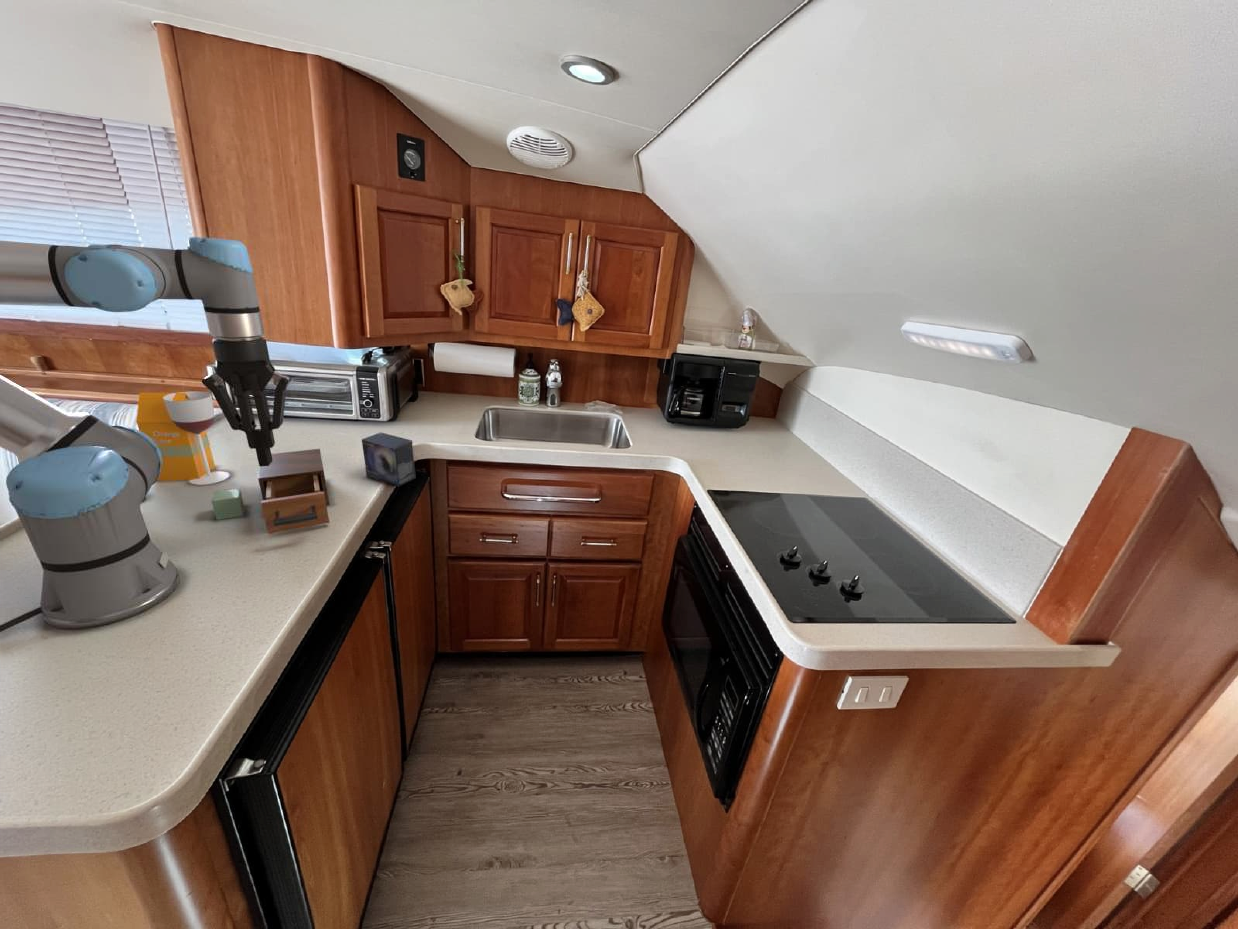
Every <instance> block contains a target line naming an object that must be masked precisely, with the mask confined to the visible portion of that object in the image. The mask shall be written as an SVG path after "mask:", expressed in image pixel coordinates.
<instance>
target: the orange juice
mask: <svg viewBox="0 0 1238 929" xmlns="http://www.w3.org/2000/svg"><path fill="white" fill-rule="evenodd" d="M172 393H173V392H142V391H141V392H139V395H138V403H137V410H136V411H137V412H136V420H135V422H136V425H137V428H138V430H139V431H141V432H143V433H144V434H146V435H147V436H149V437H150V438H151V439H152V440H153V441H154V442H155V443H156V445H157V446H158V448H159V449H160V452H161V455H162V466H161V472H160V475H159V477H158V479H157V481H156V482H174V481H175V482H176V481H189V480H193V479H199V478H200V477H201V476H203V475H204V474H206V470H205V466H204V463H203V459H202V455H201V452H200V448H199V444H198V441H197V437H196V434H195V433H192V432H188V431H185V430H182V429H180V428H179V427H177V426H176V425H175V424H174V422H173V421H172V419H171V417H170V415H169V413H168V411H167V408H166V406H165V403H164V400H163V397H164V396H166V395H169V394H172ZM175 393H176V394H175V395H174V397H173V400H172V401H185V398H186V399H190V398H189V397H188V396H187V395H186V393H178V392H175ZM200 436H201V439H202V443H203V447H204V451H205V454H206V458H207V462H208V465H209V469H210V472H212V471H213V470H214V469H215V468H216V465H215V460H214V457H213V453H212V449H211V443H210V441H209V440H210V439H209V437H208V434H207V430H205V431H203V432H201V433H200Z"/></svg>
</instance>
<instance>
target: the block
mask: <svg viewBox="0 0 1238 929" xmlns="http://www.w3.org/2000/svg"><path fill="white" fill-rule="evenodd" d="M211 504H212V508H213V511H214V515H215V518H216V519H215V520H217V521H219V520H226V519H233V518H238V517H243V516H244V513H245V503H244V499H243V494H242V490H241V488H235V489H228V490H227V489H226V490H221V491H220V490H219V491H214V492H213V494H212V498H211Z"/></svg>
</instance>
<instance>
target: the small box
mask: <svg viewBox="0 0 1238 929" xmlns="http://www.w3.org/2000/svg"><path fill="white" fill-rule="evenodd" d="M361 444H362V446H361V447H362V452H363V453H362V454H363V459H364V460H363V461H364V466H365V473H366V478H368V479H373V480H374V481H375V480H376V481H379V482H382V483H385V484H389V485H392V486H395V487H400V486H403V485H405V484H406V483H409V482H411V481H412V480H414V479H415V480H416V478H417V476H416V467H415V459H414V458H415V457H414V448H413V440H412V439H408V438H404V437H400V436H396V435H392V434H388V433H385V432H382V431H380V432H378V433H375V434H372V435H370V436H367V437H364V438H361Z"/></svg>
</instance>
